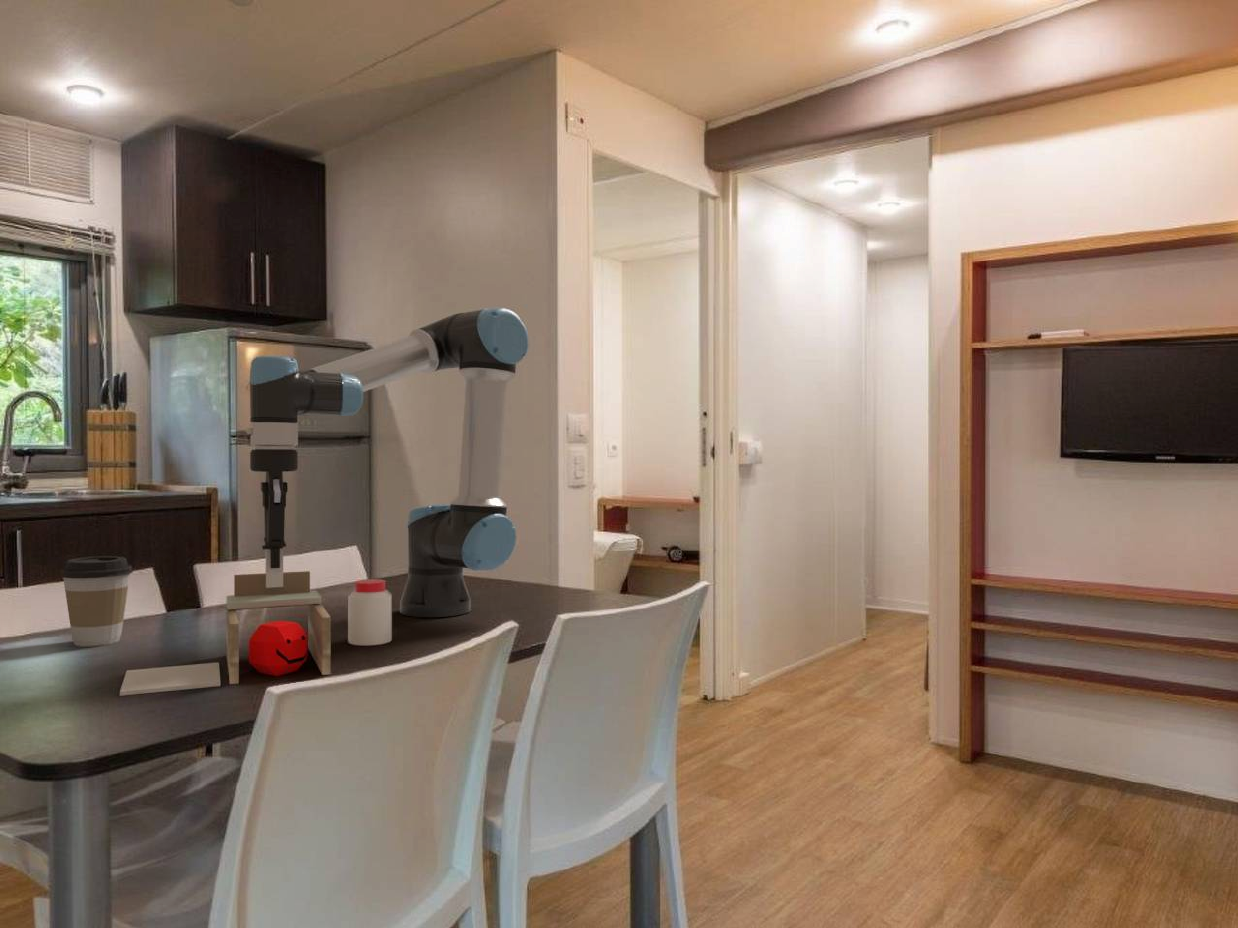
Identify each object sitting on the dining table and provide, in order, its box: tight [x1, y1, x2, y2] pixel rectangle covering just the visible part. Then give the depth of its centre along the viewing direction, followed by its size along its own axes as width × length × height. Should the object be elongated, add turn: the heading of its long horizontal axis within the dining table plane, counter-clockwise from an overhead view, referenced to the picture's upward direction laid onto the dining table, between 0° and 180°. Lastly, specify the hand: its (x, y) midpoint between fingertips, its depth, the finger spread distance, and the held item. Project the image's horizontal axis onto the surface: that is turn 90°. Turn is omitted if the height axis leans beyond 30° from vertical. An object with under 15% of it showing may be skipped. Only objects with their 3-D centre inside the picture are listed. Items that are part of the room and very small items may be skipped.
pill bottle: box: [347, 578, 393, 647], centre depth 161 cm, size 8×8×11 cm
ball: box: [248, 620, 308, 677], centre depth 139 cm, size 8×8×8 cm
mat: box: [119, 661, 221, 697], centre depth 133 cm, size 13×13×1 cm
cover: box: [226, 570, 323, 609], centre depth 148 cm, size 14×8×4 cm, turn 116°
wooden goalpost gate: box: [225, 602, 332, 685], centre depth 143 cm, size 14×20×9 cm
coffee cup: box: [59, 555, 134, 648], centre depth 158 cm, size 11×11×15 cm
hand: (274, 586), depth 149 cm, fingers closed
